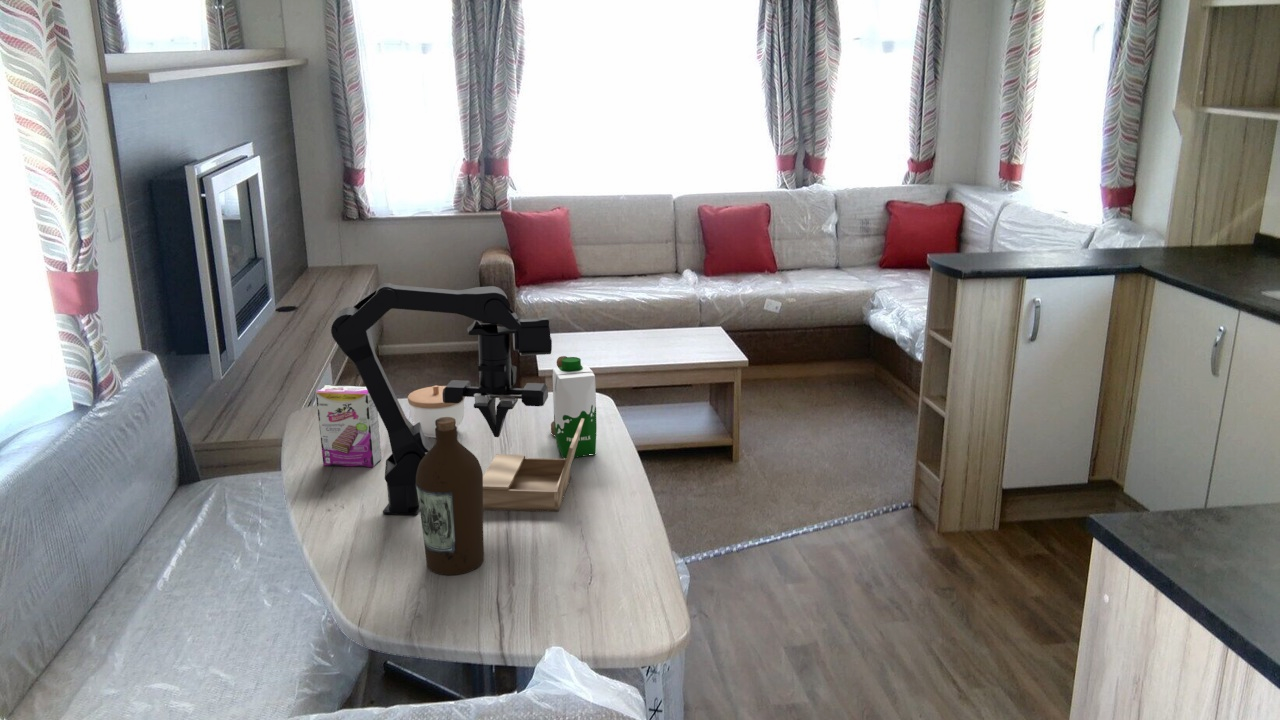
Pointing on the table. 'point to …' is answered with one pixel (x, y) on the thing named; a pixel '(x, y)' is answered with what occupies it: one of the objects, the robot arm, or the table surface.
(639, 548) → the table surface
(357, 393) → the candy bar box
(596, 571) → the table surface
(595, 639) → the table surface
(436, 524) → the olive oil
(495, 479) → the flap
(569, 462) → the flap
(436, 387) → the lidded bowl
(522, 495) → the wooden box
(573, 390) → the milk carton
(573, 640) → the table surface
